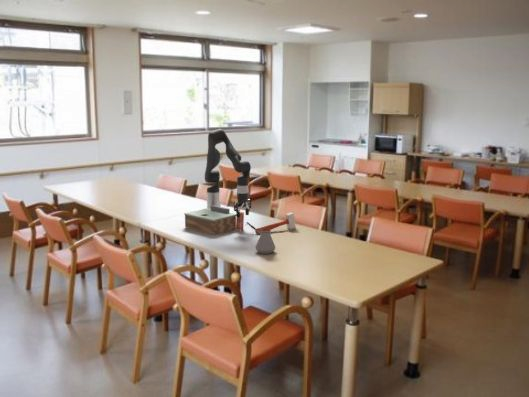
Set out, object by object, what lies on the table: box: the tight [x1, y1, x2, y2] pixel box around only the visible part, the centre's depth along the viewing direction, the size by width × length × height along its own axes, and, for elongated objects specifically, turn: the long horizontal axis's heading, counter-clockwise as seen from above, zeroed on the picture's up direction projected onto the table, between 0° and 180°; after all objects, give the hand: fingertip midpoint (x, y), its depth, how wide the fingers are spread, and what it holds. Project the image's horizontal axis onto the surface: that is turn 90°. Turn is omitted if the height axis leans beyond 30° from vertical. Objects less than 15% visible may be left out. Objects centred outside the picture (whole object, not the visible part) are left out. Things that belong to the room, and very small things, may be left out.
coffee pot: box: [244, 221, 276, 255], centre depth 304 cm, size 21×12×15 cm, turn 46°
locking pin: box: [235, 211, 245, 232], centre depth 348 cm, size 3×3×12 cm
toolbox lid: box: [183, 205, 237, 221], centre depth 351 cm, size 21×28×4 cm
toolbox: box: [184, 215, 237, 236], centre depth 352 cm, size 20×28×9 cm
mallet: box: [254, 212, 297, 235], centre depth 347 cm, size 11×4×30 cm
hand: (242, 216), depth 346 cm, fingers open, 8 cm apart
